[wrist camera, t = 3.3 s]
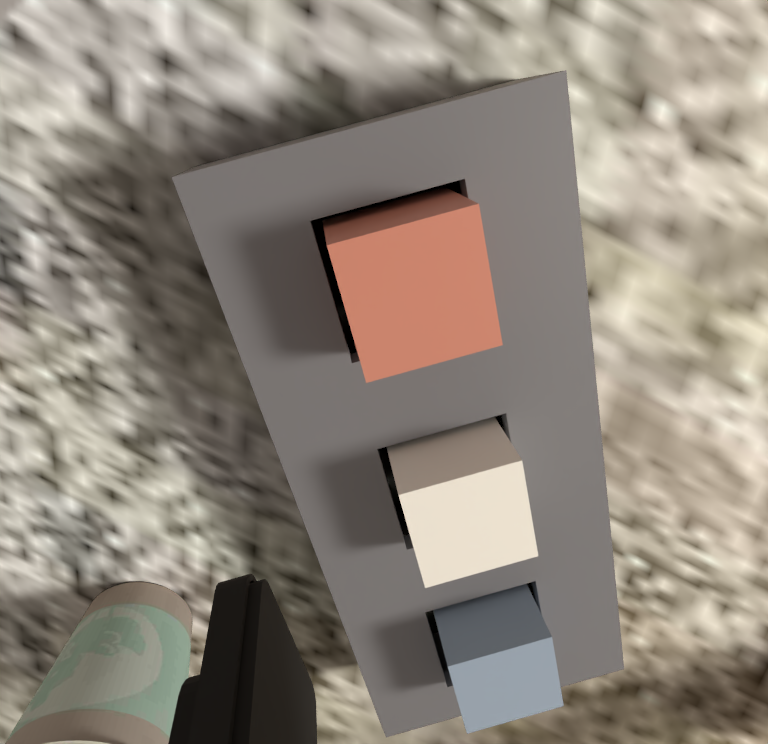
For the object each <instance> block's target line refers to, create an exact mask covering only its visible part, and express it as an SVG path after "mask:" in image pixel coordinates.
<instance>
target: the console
mask: <svg viewBox="0 0 768 744" xmlns="http://www.w3.org/2000/svg"><path fill="white" fill-rule="evenodd" d="M172 180H173V182H174V185H175V188H176V190H177V193H178V195H179V198H180V201H181V203H182V206H183V209H184V211H185V214H186V216H187V219H188V222H189V224H190V227H191V229H192V232H193V235H194V237H195V240H196V242H197V245H198V248H199V250H200V253H201V256H202V258H203V261H204V263H205V266H206V269H207V271H208V274H209V276H210V279H211V282H212V284H213V287H214V289H215V292H216V295H217V297H218V300H219V303H220V305H221V308H222V310H223V313H224V316H225V318H226V321H227V323H228V326H229V329H230V331H231V334H232V336H233V339H234V342H235V344H236V347H237V349H238V352H239V355H240V357H241V360H242V363H243V365H244V368H245V370H246V373H247V376H248V378H249V381H250V383H251V386H252V389H253V391H254V394H255V396H256V399H257V402H258V404H259V407H260V410H261V412H262V415H263V417H264V420H265V423H266V425H267V428H268V430H269V433H270V436H271V438H272V441H273V443H274V446H275V449H276V451H277V454H278V456H279V459H280V462H281V464H282V467H283V470H284V472H285V475H286V477H287V480H288V483H289V485H290V488H291V490H292V493H293V496H294V498H295V501H296V503H297V506H298V509H299V511H300V514H301V517H302V519H303V522H304V524H305V527H306V530H307V532H308V535H309V537H310V540H311V543H312V545H313V548H314V550H315V553H316V556H317V558H318V561H319V563H320V566H321V569H322V571H323V574H324V577H325V579H326V582H327V584H328V587H329V590H330V592H331V595H332V597H333V600H334V603H335V605H336V608H337V610H338V613H339V616H340V618H341V621H342V624H343V626H344V629H345V631H346V634H347V637H348V639H349V642H350V644H351V647H352V650H353V652H354V655H355V657H356V660H357V663H358V665H359V668H360V671H361V673H362V676H363V678H364V681H365V684H366V686H367V689H368V691H369V694H370V697H371V699H372V702H373V704H374V707H375V710H376V712H377V715H378V717H379V720H380V723H381V725H382V728H383V731H384V733H385V736H386V737H389V736H392V735H396V734H399V733H403V732H406V731H410V730H413V729H417V728H420V727H424V726H427V725H431V724H434V723H438V722H441V721H445V720H448V719H452V718H455V717H459V716H462V715H461V711H460V708H459V704H458V701H457V697H456V694H455V690H454V687H453V683H452V680H451V676H450V673H449V669H448V666H447V662H446V658H445V654H444V650H443V647H442V643H441V639H440V635H439V632H438V633H434V634H432V631H431V628H430V624H429V621H428V618H427V614H426V612H428V611H432V610H435V609H439V608H442V607H446V606H449V605H453V604H456V603H460V602H463V601H467V600H470V599H474V598H478V597H481V596H485V595H488V594H492V593H495V592H499V591H502V590H506V589H509V588H513V587H516V586H520V585H523V584H527V583H530V582H532V588H533V593H534V599H535V602H536V604H537V606H538V608H539V611H540V613H541V615H542V617H543V619H544V621H545V623H546V625H547V627H548V629H549V632H550V634H551V636H552V640H553V645H554V651H555V657H556V663H557V669H558V675H559V681H560V687H563V686H567V685H570V684H574V683H577V682H581V681H584V680H587V679H591V678H594V677H598V676H601V675H605V674H608V673H612V672H615V671H619V670H622V669H624V664H623V653H622V643H621V632H620V622H619V612H618V601H617V591H616V581H615V570H614V560H613V550H612V539H611V529H610V519H609V508H608V498H607V488H606V477H605V467H604V457H603V446H602V436H601V426H600V415H599V405H598V395H597V384H596V374H595V364H594V353H593V343H592V332H591V322H590V312H589V301H588V291H587V281H586V270H585V260H584V250H583V239H582V229H581V219H580V208H579V198H578V188H577V177H576V167H575V157H574V146H573V136H572V126H571V115H570V105H569V95H568V84H567V74H566V71H560V72H555V73H549V74H544V75H538V76H533V77H528V78H522V79H517V80H513V81H510V82H506V83H502V84H498V85H495V86H491V87H487V88H484V89H480V90H476V91H473V92H469V93H465V94H461V95H458V96H454V97H450V98H447V99H443V100H439V101H436V102H432V103H428V104H424V105H421V106H417V107H413V108H410V109H406V110H402V111H399V112H395V113H391V114H388V115H384V116H380V117H376V118H373V119H369V120H365V121H362V122H358V123H354V124H351V125H347V126H343V127H339V128H336V129H332V130H328V131H325V132H321V133H317V134H314V135H310V136H306V137H303V138H299V139H295V140H291V141H288V142H284V143H280V144H277V145H273V146H269V147H266V148H262V149H258V150H254V151H251V152H247V153H243V154H240V155H236V156H232V157H229V158H225V159H221V160H217V161H214V162H210V163H206V164H203V165H199V166H196V167H194V168H191V169H189V170H187V171H184V172H182V173H180V174H178V175H175V176H173V177H172ZM458 180H459V183H460V188H461V194H462V196H464V197H466V198H468V199H470V200H472V201H474V202H476V203H478V204H479V207H480V213H481V219H482V225H483V231H484V237H485V243H486V249H487V255H488V261H489V266H490V272H491V278H492V284H493V290H494V296H495V302H496V308H497V314H498V320H499V326H500V332H501V338H502V343H503V345H501V346H498V347H494V348H491V349H487V350H483V351H480V352H476V353H473V354H469V355H465V356H462V357H458V358H455V359H451V360H447V361H444V362H440V363H437V364H433V365H429V366H426V367H422V368H419V369H415V370H411V371H408V372H404V373H401V374H397V375H393V376H390V377H386V378H383V379H379V380H375V381H372V382H368V383H366V380H365V377H364V373H363V370H362V366H361V363H360V359H359V356H358V352H356V353H352V354H350V352H349V348H348V345H347V342H346V338H345V335H344V331H343V328H342V325H341V321H340V318H339V314H338V311H337V307H336V304H335V301H334V297H333V294H332V290H331V287H330V284H329V280H328V277H327V273H326V270H325V267H324V263H323V260H322V256H321V253H320V250H319V246H318V243H317V239H316V236H315V233H314V229H313V226H312V222H311V220H315V219H319V218H322V217H326V216H330V215H333V214H337V213H341V212H344V211H348V210H352V209H355V208H359V207H363V206H366V205H370V204H374V203H377V202H381V201H385V200H388V199H392V198H396V197H399V196H403V195H407V194H410V193H414V192H418V191H421V190H425V189H429V188H432V187H436V186H440V185H443V184H447V183H451V182H454V181H458ZM498 415H501V416H502V421H503V427H504V432H505V434H506V436H507V437H508V439H509V440H510V442H511V443H512V445H513V447H514V448H515V450H516V451H517V453H518V455H519V456H520V458H521V459H522V462H523V468H524V474H525V480H526V486H527V492H528V497H529V503H530V509H531V515H532V521H533V527H534V533H535V539H536V545H537V551H538V556H537V557H534V558H530V559H527V560H523V561H519V562H516V563H512V564H509V565H505V566H502V567H498V568H495V569H491V570H488V571H484V572H481V573H477V574H474V575H470V576H466V577H463V578H459V579H456V580H452V581H449V582H445V583H442V584H438V585H435V586H431V587H428V588H425V586H424V582H423V579H422V575H421V572H420V568H419V565H418V561H417V558H416V554H415V551H414V547H413V544H412V541H411V537H410V534H409V535H406V536H403V532H402V529H401V526H400V522H399V519H398V515H397V512H396V509H395V505H394V502H393V498H392V495H391V491H390V488H389V485H388V481H387V478H386V474H385V471H384V468H383V464H382V461H381V457H380V454H379V451H378V449H380V448H383V447H387V446H391V445H394V444H398V443H401V442H405V441H409V440H412V439H416V438H419V437H423V436H426V435H430V434H434V433H437V432H441V431H444V430H448V429H452V428H455V427H459V426H462V425H466V424H469V423H473V422H477V421H480V420H484V419H487V418H491V417H494V416H498Z"/></svg>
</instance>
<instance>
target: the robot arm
mask: <svg viewBox="0 0 768 744" xmlns="http://www.w3.org/2000/svg"><path fill="white" fill-rule="evenodd" d="M168 744H317V723H316V699H315V693H314V688H313V684H312V681H311V679H310V677H309V674H308V672H307V670H306V668H305V665H304V663H303V661H302V658H301V656H300V654H299V652H298V649H297V647H296V645H295V643H294V640H293V638H292V636H291V633H290V631H289V629H288V627H287V624H286V622H285V620H284V618H283V615H282V613H281V611H280V609H279V606H278V604H277V602H276V599H275V597H274V595H273V593H272V590H271V588H270V586H269V584H268V582H267V581H266V580H265V579H263V580H260V581H257V580H256V579H255V577H254V576H253V575H252V574H248V575H245V576H241V577H238V578H234V579H231V580H227V581H224V582H220V583H218V584H217V586H216V589H215V594H214V600H213V605H212V611H211V616H210V622H209V628H208V633H207V639H206V644H205V650H204V655H203V661H202V667H201V672H200V675H197V676H193V677H190V678H188V679H186V680H185V681H184V683H183V684H182V686H181V689H180V692H179V695H178V700H177V705H176V709H175V714H174V719H173V724H172V728H171V733H170V738H169V743H168Z"/></svg>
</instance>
